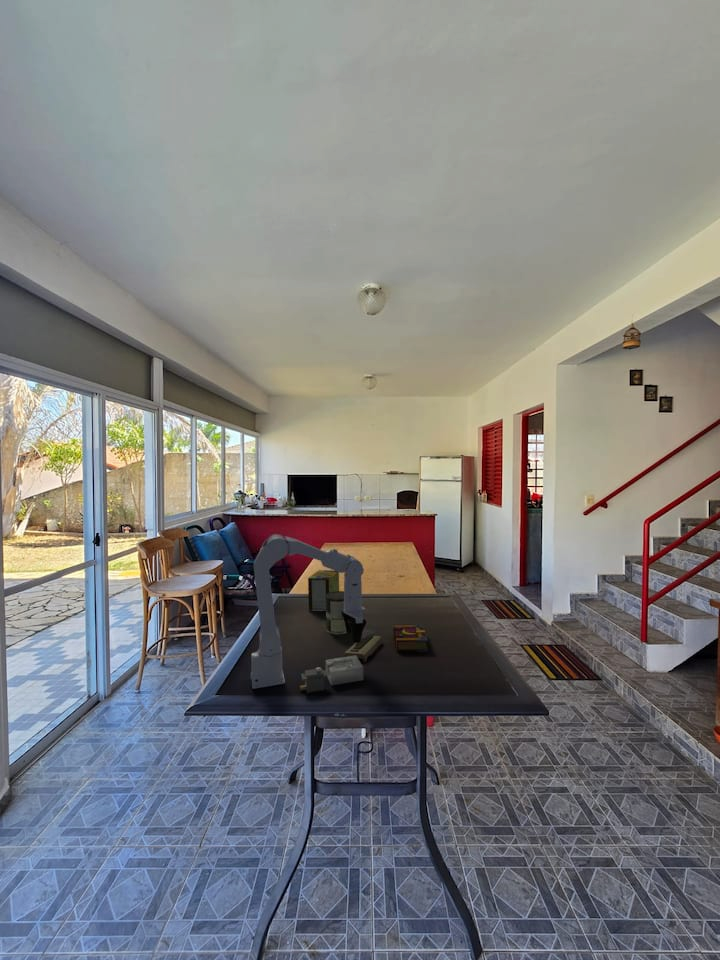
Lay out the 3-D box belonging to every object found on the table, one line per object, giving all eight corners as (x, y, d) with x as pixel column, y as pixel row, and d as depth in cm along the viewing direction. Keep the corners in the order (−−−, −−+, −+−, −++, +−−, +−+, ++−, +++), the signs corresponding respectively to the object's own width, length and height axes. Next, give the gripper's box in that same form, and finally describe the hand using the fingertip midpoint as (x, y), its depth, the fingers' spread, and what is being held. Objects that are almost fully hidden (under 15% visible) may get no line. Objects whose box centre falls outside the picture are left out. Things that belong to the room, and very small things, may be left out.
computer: (362, 641, 148) (362, 632, 148) (382, 644, 145) (382, 635, 145) (343, 659, 134) (343, 649, 134) (365, 663, 130) (364, 653, 130)
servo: (301, 694, 112) (301, 674, 112) (299, 688, 115) (299, 668, 115) (327, 689, 114) (327, 669, 114) (325, 683, 118) (325, 664, 117)
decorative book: (395, 653, 137) (395, 639, 137) (392, 634, 153) (392, 621, 153) (428, 652, 137) (428, 638, 137) (421, 633, 153) (421, 621, 153)
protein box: (339, 601, 192) (339, 570, 192) (329, 612, 177) (329, 578, 177) (319, 600, 195) (319, 569, 194) (308, 611, 180) (307, 577, 180)
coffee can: (320, 630, 157) (320, 596, 157) (336, 622, 165) (336, 589, 165) (341, 636, 151) (340, 600, 151) (356, 628, 159) (356, 593, 159)
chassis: (331, 685, 116) (331, 672, 116) (325, 672, 124) (325, 659, 124) (363, 679, 119) (363, 666, 119) (356, 667, 127) (355, 655, 127)
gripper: (371, 601, 121) (372, 645, 121) (358, 588, 135) (358, 627, 135) (349, 603, 119) (350, 648, 119) (338, 590, 132) (338, 630, 133)
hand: (353, 637), depth 127 cm, fingers open, 7 cm apart
